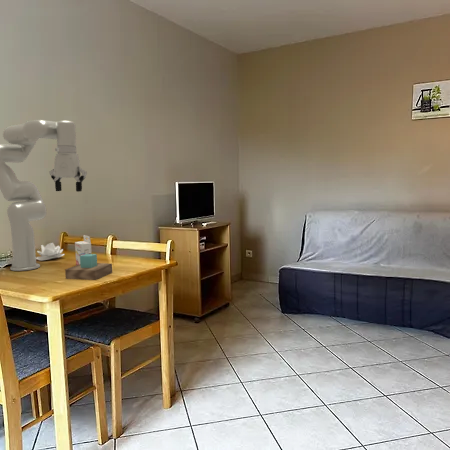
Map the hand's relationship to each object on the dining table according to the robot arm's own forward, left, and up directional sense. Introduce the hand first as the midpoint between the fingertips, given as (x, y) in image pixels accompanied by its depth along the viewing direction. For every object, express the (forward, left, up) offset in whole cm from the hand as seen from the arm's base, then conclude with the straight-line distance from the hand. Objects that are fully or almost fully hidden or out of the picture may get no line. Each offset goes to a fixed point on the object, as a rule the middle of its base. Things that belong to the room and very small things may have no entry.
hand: (68, 191), depth 176 cm
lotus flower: (-34, +31, -37) cm, 59 cm away
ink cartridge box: (-5, +16, -37) cm, 40 cm away
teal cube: (+8, -1, -33) cm, 33 cm away
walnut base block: (+8, -1, -37) cm, 37 cm away
